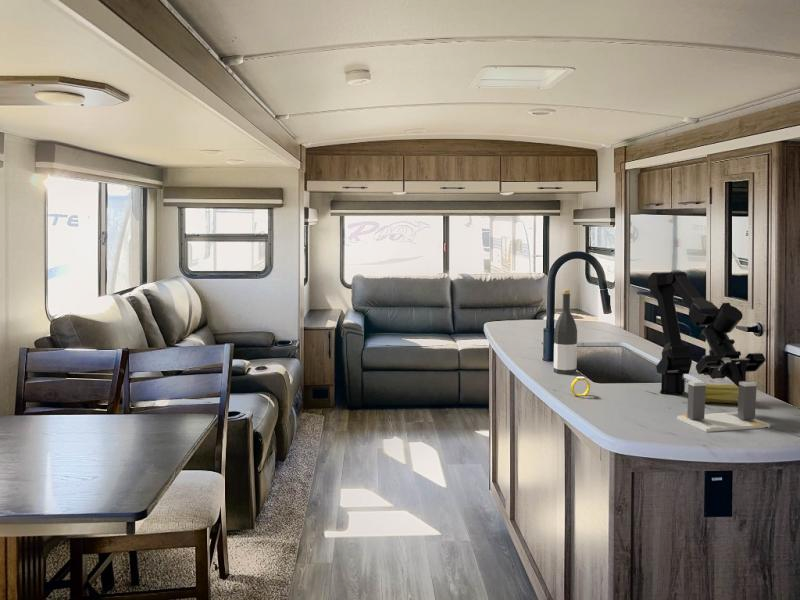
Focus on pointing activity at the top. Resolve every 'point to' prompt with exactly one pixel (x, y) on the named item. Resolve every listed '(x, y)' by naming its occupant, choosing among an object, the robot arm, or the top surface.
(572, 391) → the yellow ring
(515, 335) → the top surface
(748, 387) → the switch
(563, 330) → the wine bottle
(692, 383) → the switch
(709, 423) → the switch board
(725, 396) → the vase
